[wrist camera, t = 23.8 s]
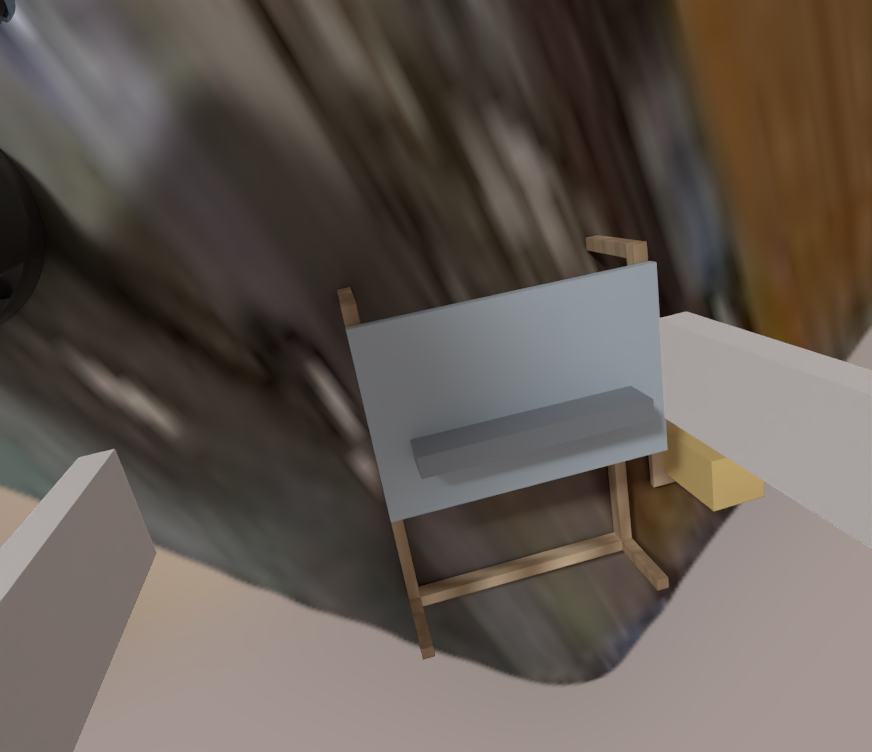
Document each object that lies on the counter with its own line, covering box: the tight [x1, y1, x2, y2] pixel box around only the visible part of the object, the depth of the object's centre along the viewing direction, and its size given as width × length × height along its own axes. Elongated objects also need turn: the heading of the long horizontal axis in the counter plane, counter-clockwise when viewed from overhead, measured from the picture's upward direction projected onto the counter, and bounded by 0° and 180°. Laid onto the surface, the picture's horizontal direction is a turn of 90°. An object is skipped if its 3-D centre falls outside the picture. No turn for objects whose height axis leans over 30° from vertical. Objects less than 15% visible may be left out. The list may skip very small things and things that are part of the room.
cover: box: [345, 261, 668, 522], centre depth 39 cm, size 21×14×4 cm, turn 101°
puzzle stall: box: [337, 235, 669, 659], centre depth 47 cm, size 21×28×8 cm
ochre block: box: [664, 425, 764, 511], centre depth 51 cm, size 4×4×7 cm
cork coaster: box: [649, 419, 676, 487], centre depth 54 cm, size 7×7×1 cm
